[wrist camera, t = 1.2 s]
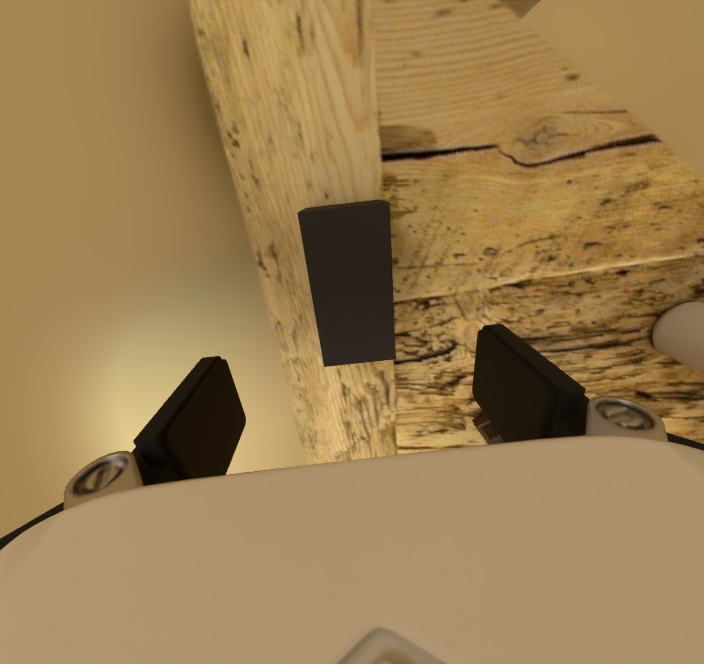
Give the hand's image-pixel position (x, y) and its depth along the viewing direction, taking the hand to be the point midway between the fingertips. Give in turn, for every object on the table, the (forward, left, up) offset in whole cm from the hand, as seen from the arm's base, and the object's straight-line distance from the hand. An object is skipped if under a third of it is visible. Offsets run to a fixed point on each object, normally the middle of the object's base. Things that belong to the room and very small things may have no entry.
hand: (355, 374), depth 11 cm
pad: (0, 0, -12) cm, 12 cm away
